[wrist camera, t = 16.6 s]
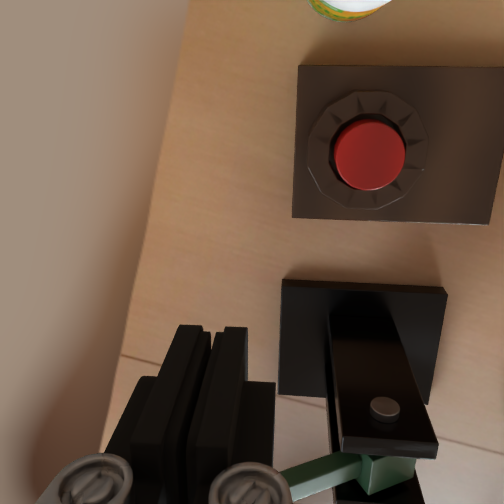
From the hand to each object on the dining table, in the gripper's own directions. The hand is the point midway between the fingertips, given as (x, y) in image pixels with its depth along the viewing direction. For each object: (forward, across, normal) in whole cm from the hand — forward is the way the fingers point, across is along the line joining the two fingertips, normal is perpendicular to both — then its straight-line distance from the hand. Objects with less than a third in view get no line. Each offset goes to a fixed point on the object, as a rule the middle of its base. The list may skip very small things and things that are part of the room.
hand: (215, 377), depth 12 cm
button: (+18, -6, -3) cm, 19 cm away
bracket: (+21, -7, +11) cm, 25 cm away
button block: (+21, -8, -3) cm, 22 cm away
